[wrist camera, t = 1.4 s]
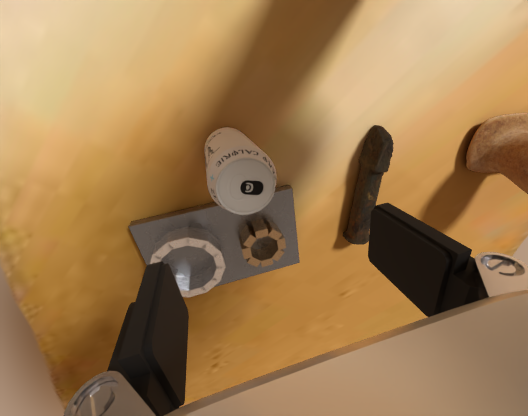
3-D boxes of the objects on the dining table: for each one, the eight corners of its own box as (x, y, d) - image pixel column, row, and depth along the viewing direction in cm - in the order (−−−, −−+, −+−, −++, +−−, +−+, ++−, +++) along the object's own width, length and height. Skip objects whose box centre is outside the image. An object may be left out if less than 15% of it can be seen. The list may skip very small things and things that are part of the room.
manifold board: (288, 185, 37) (299, 195, 33) (296, 257, 43) (306, 273, 39) (131, 221, 33) (122, 238, 29) (164, 294, 40) (161, 316, 36)
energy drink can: (205, 123, 30) (209, 145, 17) (251, 129, 32) (288, 153, 19) (203, 169, 33) (205, 220, 19) (246, 173, 34) (276, 222, 21)
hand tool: (358, 233, 44) (374, 247, 40) (339, 234, 43) (353, 249, 39) (388, 125, 37) (411, 129, 33) (365, 124, 36) (386, 127, 32)
